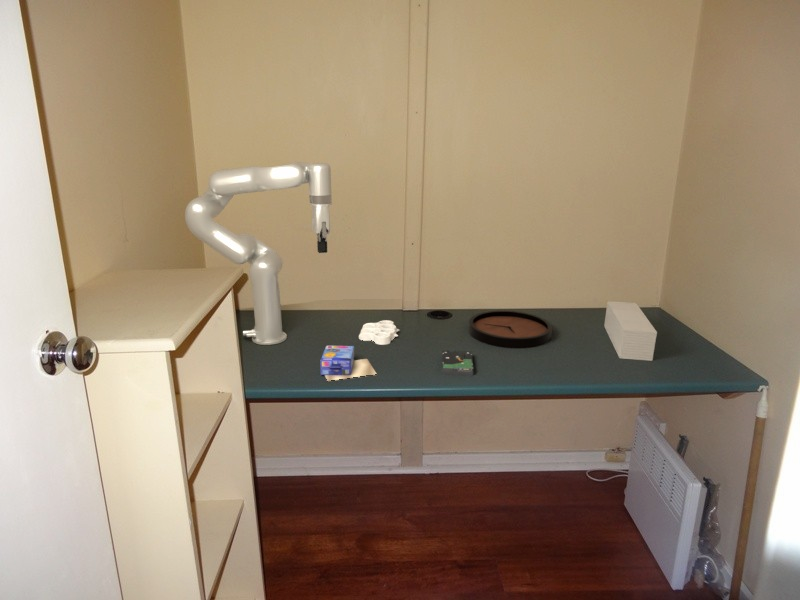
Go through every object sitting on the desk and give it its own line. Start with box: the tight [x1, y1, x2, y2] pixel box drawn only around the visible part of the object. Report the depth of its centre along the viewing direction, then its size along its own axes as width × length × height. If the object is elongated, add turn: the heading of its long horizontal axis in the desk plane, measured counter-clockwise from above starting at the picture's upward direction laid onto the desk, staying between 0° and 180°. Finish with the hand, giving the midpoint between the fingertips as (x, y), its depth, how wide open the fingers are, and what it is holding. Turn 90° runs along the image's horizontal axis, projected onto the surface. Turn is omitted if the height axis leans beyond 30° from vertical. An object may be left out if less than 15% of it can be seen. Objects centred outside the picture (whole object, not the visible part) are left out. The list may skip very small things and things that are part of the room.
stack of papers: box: [603, 301, 658, 362], centre depth 200 cm, size 32×11×11 cm, turn 169°
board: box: [324, 358, 378, 382], centre depth 177 cm, size 16×12×1 cm
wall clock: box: [468, 310, 553, 349], centre depth 210 cm, size 31×4×31 cm
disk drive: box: [441, 349, 474, 376], centre depth 181 cm, size 10×3×15 cm
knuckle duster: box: [358, 319, 400, 346], centre depth 206 cm, size 3×18×15 cm
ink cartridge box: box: [319, 345, 355, 376], centre depth 177 cm, size 10×6×14 cm
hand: (322, 252), depth 192 cm, fingers closed
